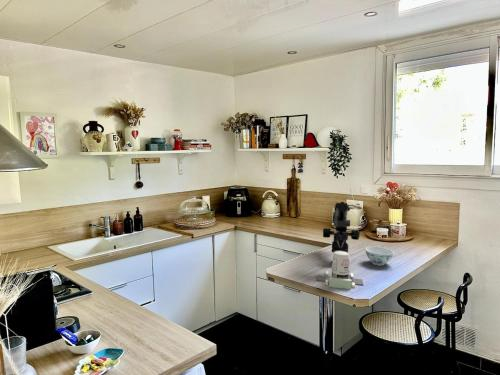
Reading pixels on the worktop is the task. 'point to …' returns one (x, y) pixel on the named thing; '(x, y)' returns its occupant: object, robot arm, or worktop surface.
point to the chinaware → (379, 255)
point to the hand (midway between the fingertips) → (340, 247)
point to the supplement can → (341, 265)
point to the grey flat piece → (340, 281)
